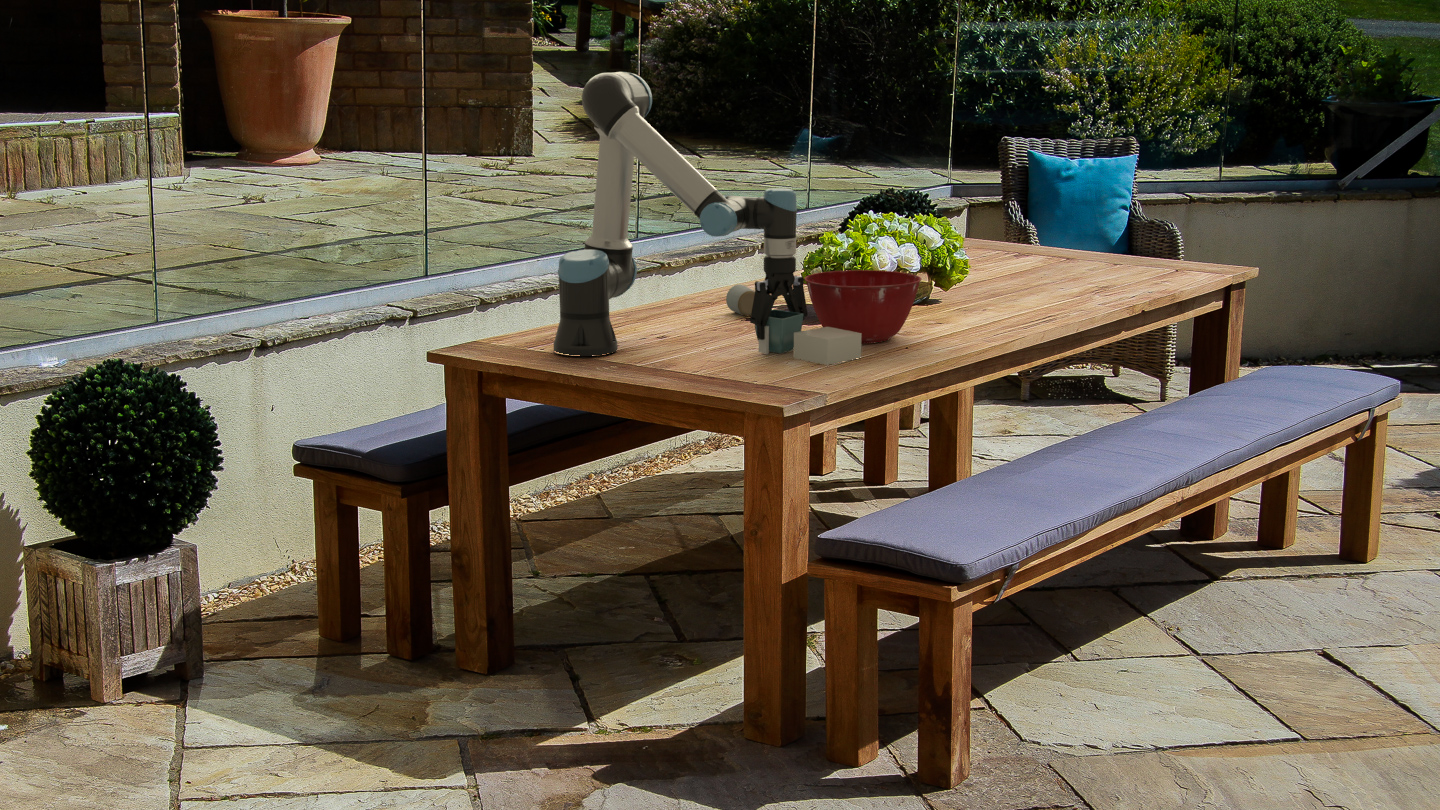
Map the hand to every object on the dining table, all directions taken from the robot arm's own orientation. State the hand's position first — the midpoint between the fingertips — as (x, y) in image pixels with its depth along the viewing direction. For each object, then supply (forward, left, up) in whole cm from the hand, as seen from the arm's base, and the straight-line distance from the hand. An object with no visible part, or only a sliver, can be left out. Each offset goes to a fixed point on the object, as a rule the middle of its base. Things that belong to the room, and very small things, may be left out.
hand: (778, 350), depth 342 cm
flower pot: (0, 0, 0) cm, 1 cm away
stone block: (+3, -13, 0) cm, 13 cm away
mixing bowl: (+26, -2, -1) cm, 26 cm away
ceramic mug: (+29, +42, -1) cm, 51 cm away
